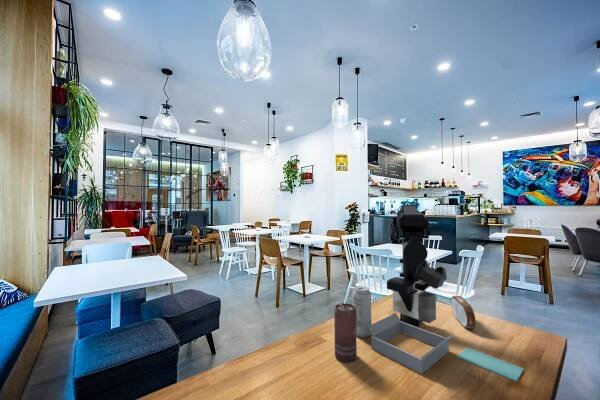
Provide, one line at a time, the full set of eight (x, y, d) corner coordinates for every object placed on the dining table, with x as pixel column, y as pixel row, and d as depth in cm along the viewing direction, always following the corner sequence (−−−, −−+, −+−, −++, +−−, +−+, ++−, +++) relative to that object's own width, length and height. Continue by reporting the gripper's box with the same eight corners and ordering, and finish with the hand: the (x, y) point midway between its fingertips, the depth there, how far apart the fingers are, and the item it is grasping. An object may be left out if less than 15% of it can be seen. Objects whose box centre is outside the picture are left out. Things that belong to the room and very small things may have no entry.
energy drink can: (374, 336, 86) (374, 290, 86) (357, 339, 84) (357, 292, 84) (366, 328, 91) (365, 284, 92) (349, 330, 90) (349, 286, 90)
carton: (366, 346, 80) (366, 326, 80) (395, 329, 90) (395, 312, 90) (428, 377, 66) (428, 353, 66) (455, 353, 76) (455, 332, 76)
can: (342, 347, 79) (342, 300, 80) (360, 356, 75) (360, 306, 75) (329, 355, 75) (329, 306, 75) (348, 365, 71) (347, 313, 71)
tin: (476, 333, 87) (476, 307, 87) (466, 332, 88) (465, 307, 88) (459, 314, 102) (458, 292, 102) (450, 313, 103) (449, 292, 103)
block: (392, 310, 81) (392, 287, 81) (400, 307, 83) (399, 285, 83) (429, 323, 72) (428, 297, 72) (436, 319, 75) (435, 294, 75)
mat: (457, 357, 74) (457, 356, 74) (467, 348, 78) (467, 347, 78) (516, 381, 64) (516, 380, 64) (523, 370, 68) (523, 368, 68)
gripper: (424, 266, 66) (425, 329, 66) (455, 256, 77) (456, 310, 77) (385, 259, 74) (385, 314, 74) (418, 251, 86) (419, 299, 86)
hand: (413, 309), depth 78 cm, fingers closed on block, 4 cm apart
